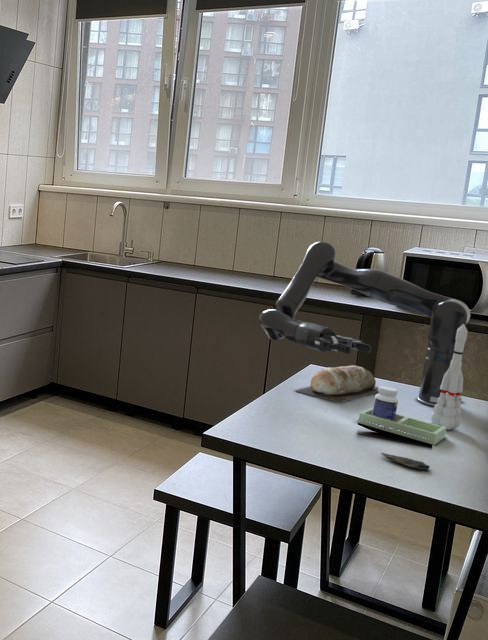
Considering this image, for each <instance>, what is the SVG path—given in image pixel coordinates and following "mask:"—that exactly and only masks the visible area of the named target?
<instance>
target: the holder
mask: <svg viewBox="0 0 488 640" xmlns="http://www.w3.org/2000/svg"><path fill="white" fill-rule="evenodd" d="M372 411H373V406H372V407H369V408H367V409H365V410H363V411H361V412H359V415H358V420H357V421H358V422H357V423H358V424H361V425H364V426H368V427H371V428H374V429H378V430H381V431H384V432H387V433H391V434H395V435H398V436H402V437H404V438H409V439H413V440H414V441H415V440H416V441H418V442H423V443H426V444H429V445H432V446H435V445H436V444H438V443H439V442H440V441H442V440H443V439H445V438H446V432H447V430H446V428H447V427H443V426H440V425H436V424H433V423H432V422H428V421H426V420H421V419H417V418H414V417H410V416H407V415H403V414H399V413H396V415H395V421H390V420H386V419H383V418H379V417H376V416H372ZM362 420H364V421H362ZM366 421H368V422H366ZM369 422H373V423H376V424H379V425H383V426H387V427H390V428H393V429H392V430H394V429H396V430H394V431H391V430H388V429H384V428H381V427H379V426H377V425H374V424H370V423H369ZM397 430H400V431H397ZM401 431H403V432H401ZM404 432H406V433H404ZM407 433H410V434H407ZM411 434H415V435H417V436H414V435H411ZM418 436H421V437H424V438H421V437H418ZM425 438H426V439H425ZM428 439H429V440H428Z"/></svg>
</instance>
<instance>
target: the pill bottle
mask: <svg viewBox="0 0 488 640" xmlns="http://www.w3.org/2000/svg"><path fill="white" fill-rule="evenodd" d="M378 388H379V389H378V391H379V392H378V393H376V394H375V396H374V400H373V406H372V407H373V411H372V416H376V417H379V418H383V419H386V420H390V421H395V415H396V414H397V409H398V403H399V399H398V398H397V395H398V392H399V391H398V389H397V388H394V387H390V386H384V385H380V386H378Z"/></svg>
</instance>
